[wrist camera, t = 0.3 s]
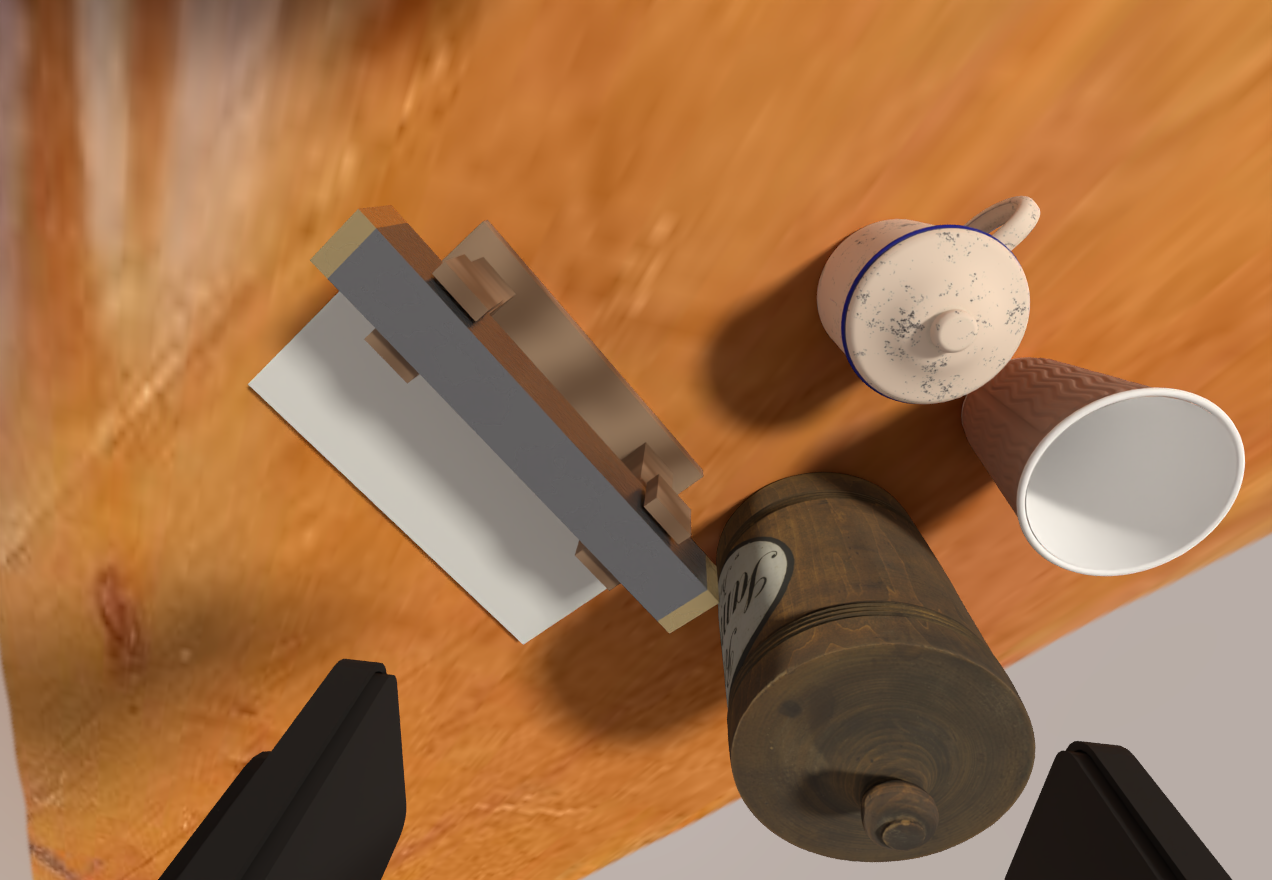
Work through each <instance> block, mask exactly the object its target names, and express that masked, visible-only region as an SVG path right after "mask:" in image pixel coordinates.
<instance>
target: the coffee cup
mask: <svg viewBox="0 0 1272 880" xmlns="http://www.w3.org/2000/svg"><path fill="white" fill-rule="evenodd" d="M1192 403H1194V404H1192ZM1195 404H1196V405H1195ZM1197 405H1198V406H1197ZM1203 408H1204V409H1203ZM1206 410H1207V411H1206ZM1209 412H1210V413H1211V414H1210V413H1209ZM961 416H962V425H963V428H964V431H965V434H966V436H967V437H966V438H967V440H968V441H969V444H970V446H971V447H972V449H973V450H974V452H975V453H976V455H977V456H978V458H979V459H980V460H981V462H982V464H983V465H984V467H985V468H986V470H987V471H988V473H989V474H990V476H991V477H992V479H993V480H994V482H995V483H996V485H997V486H998V488H999V489H1000V491H1001V492H1002V494H1003V495H1004V497H1005V498H1006V500H1007V501H1008V503H1009V504H1010V506H1011V507H1012V509H1013V510H1014V512H1015V514H1016V515H1017V517H1018V520H1019V524H1020V527H1021V529H1022V532H1023V534H1024V536H1025V537H1026V539H1027V541H1028V542H1029V543H1030V545H1031V546H1032V547H1033V548H1034V549H1035V550H1036V551H1037V552H1038V553H1039V554H1040V555H1041V556H1042V557H1044V558H1045V559H1046V560H1048V561H1050V562H1051V563H1053V564H1055V565H1057V566H1059V567H1061V568H1064V569H1067V570H1069V571H1073V572H1076V573H1081V574H1086V575H1093V576H1117V575H1126V574H1132V573H1136V572H1141V571H1144V570H1148V569H1151V568H1154V567H1156V566H1159V565H1162V564H1164V563H1166V562H1168V561H1171V560H1173V559H1175V558H1176V557H1178V556H1180V555H1182V554H1183V553H1185V552H1187V551H1188V550H1190V549H1191V548H1193V547H1194V546H1195V545H1197V544H1198V543H1199V542H1201V541H1202V540H1203V539H1204V538H1205V537H1206V536H1208V535H1209V534H1210V533H1211V532H1212V531H1213V530H1214V529H1215V528H1216V526H1217V525H1218V524H1219V523H1220V522H1221V521H1222V519H1223V518H1224V517H1225V515H1226V514H1227V513H1228V511H1229V510H1230V508H1231V506H1232V505H1233V503H1234V501H1235V499H1236V497H1237V494H1238V492H1239V489H1240V487H1241V483H1242V480H1243V475H1244V467H1245V455H1244V448H1243V444H1242V440H1241V437H1240V435H1239V433H1238V431H1237V429H1236V427H1235V425H1234V424H1233V422H1232V421H1231V419H1230V418H1229V417H1228V416H1227V415H1226V413H1225V412H1223V411H1222V410H1221V409H1220V408H1219V407H1218V406H1216V405H1215V404H1214V403H1212V402H1210V401H1209V400H1207V399H1205V398H1203V397H1201V396H1199V395H1196V394H1193V393H1190V392H1187V391H1183V390H1178V389H1170V388H1152V387H1149V386H1145V385H1142V384H1138V383H1134V382H1129V381H1126V380H1123V379H1120V378H1116V377H1113V376H1109V375H1105V374H1102V373H1098V372H1094V371H1090V370H1087V369H1084V368H1080V367H1077V366H1073V365H1069V364H1066V363H1061V362H1058V361H1055V360H1051V359H1044V358H1031V357H1028V358H1016V359H1011V360H1009V362H1008V363H1007V364H1006V365H1005V366H1004V368H1003V369H1002V370H1001V371H1000V372H999V373H998V374H997V375H995V376H994V377H993V378H992V379H991V380H990V381H988V382H987V383H986V384H984V385H983V386H981V387H979V388H978V389H976V390H974V391H973V392H971V393H969V394H967V395H966V397H965V400H964V402H963V406H962V413H961ZM1041 544H1042V545H1043V546H1044V547H1045V548H1046V549H1047V550H1048V551H1047V550H1046V549H1045V548H1044V547H1043V546H1042V545H1041ZM1054 555H1055V556H1054ZM1059 558H1060V559H1059Z"/></svg>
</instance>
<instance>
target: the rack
mask: <svg viewBox="0 0 1272 880" xmlns="http://www.w3.org/2000/svg"><path fill="white" fill-rule="evenodd" d="M442 262H443V263H442V264H441V265H440V266H439V267H438V268H437V269H436V270H435V271H434V272H433V273H432V274H433V275H434V276H435V277H436V279H437V280H438V281H439V282H440V283H441V284H442V285H443V286H444V287H445V288H446V290H447V291H448V292H449V293H450V294H451V295H452V296H453V297H454V298H455V299H456V301H457V302H458V303H459V304H460V305H461V306H462V307H463V308H464V309H465V310H466V312H467V313H468V314H469V315H470V316H471V317H472V318H473V319H474V320H475V321H478V320H479V319H480V318H482V317H483V316H485V315H486V314H487V313H489V314H490V315H491V317H492V318H493V319H494V320H495V321H496V322H497V323H498V324H499V325H500V327H501V328H502V329H503V330H504V331H505V332H506V333H507V334H508V335H509V337H510V338H511V339H512V340H513V341H514V342H515V343H516V344H517V345H518V347H519V348H520V349H521V350H522V351H523V352H524V353H525V354H526V355H527V357H528V358H529V359H530V360H531V361H532V362H533V363H534V364H535V365H536V367H537V368H538V369H539V370H540V371H541V372H542V373H543V374H544V375H545V377H546V378H547V379H548V380H549V381H550V382H551V383H552V384H553V385H554V387H555V388H556V389H557V390H558V391H559V392H560V393H561V394H562V395H563V397H564V398H565V399H566V400H567V401H568V402H569V403H570V404H571V405H572V407H573V408H574V409H575V410H576V411H577V412H578V413H579V414H580V416H581V417H582V418H583V419H584V420H585V421H586V422H587V423H588V424H589V426H590V427H591V428H592V429H593V430H594V431H595V432H596V433H597V434H598V436H599V437H600V438H601V439H602V440H603V441H604V442H605V443H606V444H607V446H608V447H609V448H610V449H611V450H612V451H613V452H614V453H615V454H616V456H617V457H618V458H619V459H620V460H621V461H622V462H623V463H624V464H625V466H626V467H627V468H628V469H629V470H630V471H631V472H632V473H633V474H634V476H635V477H636V478H637V479H638V480H639V481H640V482H641V483H642V484H643V486H644V487H645V488H646V494H645V502H644V507H645V508H646V509H647V511H648V512H649V513H650V514H651V515H652V516H653V517H654V518H655V519H656V520H657V522H658V523H659V524H660V525H661V526H662V527H663V528H664V529H665V530H666V531H667V533H668V534H669V535H670V536H671V537H672V538H673V539H674V540H675V541H676V542H677V544H680V543H681V542H683V541H684V540H686V539H687V538H689V537H690V536H691V509H690V508H689V507H688V506H687V505H686V504H685V503H684V502H683V500H682V499H681V498H680V497H679V496H678V494H679V493H680V492H682V491H683V490H685V489H686V488H688V487H689V486H690V485H692V484H693V483H695V482H696V481H698V480H699V479H701V478H702V477H703V470H702V469H701V468H700V466H699V465H698V464H697V463H696V462H695V461H694V459H693V458H692V457H691V456H690V455H689V454H688V452H687V451H686V450H685V449H684V448H683V447H682V446H681V444H680V443H679V442H678V441H677V440H676V439H675V437H674V436H673V435H672V434H671V433H670V432H669V430H668V429H667V428H666V427H665V426H664V425H663V423H662V422H661V421H660V420H659V419H658V418H657V416H656V415H655V414H654V413H653V412H652V411H651V409H650V408H649V407H648V406H647V405H646V404H645V402H644V401H643V400H642V399H641V398H640V397H639V395H638V394H637V393H636V392H635V391H634V390H633V388H632V387H631V386H630V385H629V384H628V383H627V382H626V380H625V379H624V378H623V377H622V376H621V375H620V373H619V372H618V371H617V370H616V369H615V368H614V366H613V365H612V364H611V363H610V362H609V361H608V359H607V358H606V357H605V356H604V355H603V354H602V352H601V351H600V350H599V349H598V348H597V347H596V345H595V344H594V343H593V342H592V341H591V340H590V338H589V337H588V336H587V335H586V334H585V333H584V331H583V330H582V329H581V328H580V327H579V326H578V324H577V323H576V322H575V321H574V320H573V319H572V317H571V316H570V315H569V314H568V313H567V312H566V311H565V309H564V308H563V307H562V306H561V305H560V304H559V302H558V301H557V300H556V299H555V298H554V297H553V295H552V294H551V293H550V292H549V291H548V290H547V288H546V287H545V286H544V285H543V284H542V283H541V281H540V280H539V279H538V278H537V277H536V276H535V274H534V273H533V272H532V271H531V270H530V269H529V267H528V266H527V265H526V264H525V263H524V262H523V260H522V259H521V258H520V257H519V256H518V255H517V253H516V252H515V251H514V250H513V249H512V248H511V246H510V245H509V244H508V243H507V242H506V241H505V240H504V238H503V237H502V236H501V235H500V234H499V233H498V231H497V230H496V229H495V228H494V227H493V226H492V224H491V223H490V222H489V221H488V220H486V221H483V222H482V223H481V224H480V225H479V226H478V227H477V228H476V229H475V230H474V231H472V232H471V233H470V234H469V235H468V236H467V237H466V238H465V239H464V240H463V241H462V242H461V243H460V244H459V245H458V246H457V247H456V248H455V249H454V250H453V251H452V252H451V253H450V254H449V255H448V256H447V257H446V258H445V259H444V260H442ZM364 340H365V341H366V342H367V343H368V344H369V345H370V346H371V347H372V348H373V349H374V350H375V351H376V352H377V353H378V354H379V355H380V356H381V357H382V358H383V359H384V360H385V361H386V362H387V363H388V364H389V365H390V366H391V367H392V368H393V369H394V370H395V371H396V373H397V374H398V375H399V376H400V377H401V378H402V379H403V380H404V381H405V382H406V383H407V384H408V383H409V382H410V381H411V380H413V379H414V378H415V377H417V376H418V375H419V373H418V372H417V371H416V370H415V369H414V368H413V367H412V366H411V365H410V364H409V363H408V362H407V361H406V360H405V359H404V357H403V356H402V355H401V354H400V353H399V352H398V351H397V350H396V349H395V348H394V347H393V346H392V345H391V344H390V343H389V342H388V341H387V340H386V339H385V338H384V337H383V336H382V335H381V334H380V333H379V332H378V330H377V329H376V328H375V329H374V330H373V331H372V332H371V333H370V334H369V335H368V336H367V337H366V338H365V339H364ZM575 556H576V557H577V558H578V559H579V560H580V561H581V562H582V563H583V564H584V565H585V567H586V568H587V569H588V570H589V571H590V572H591V573H592V574H593V575H594V576H595V577H596V578H597V579H598V580H599V581H600V582H601V583H602V584H603V585H604V586H605V587H606V588H607V589H608V590H609V591H610V590H611V589H613V588H614V587H615V586H617V585H618V584H620V582H619V581H618V580H617V579H616V578H615V577H614V576H613V574H612V573H611V572H610V571H609V570H608V569H607V568H606V567H605V566H604V565H603V564H602V563H601V562H600V561H599V560H598V559H597V558H596V557H595V556H594V555H593V554H592V553H591V552H590V551H589V550H588V549H587V547H586V546H585V545H584V544H583V543H582V542H581V541H580V540H579V542H578V546H577V549H576V553H575Z"/></svg>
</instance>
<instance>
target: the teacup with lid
mask: <svg viewBox="0 0 1272 880" xmlns="http://www.w3.org/2000/svg"><path fill="white" fill-rule="evenodd" d="M1039 217H1040V209H1039V207H1038V206H1037V204H1036V203H1035V202H1034V201H1033V200H1032V199H1031V198H1029V197H1026V196H1017V197H1012V198H1008V199H1006V200H1003V201H1001V202H998V203H996V204H994V205H992V206H990V207H989V208H987V209H985V210H984V211H982V212H980V213H979V214H978V215H976V216H975V217H973V218H972V219H971V220H970V221H968V222H967V223H966V224H965V225H964V226H961V225H931V224H927V223H922V222H917V221H912V220H906V219H891V220H884V221H880V222H876V223H873V224H870V225H868V226H865V227H863V228H861V229H859V230H858V231H856V232H855V233H853V234H852V235H850V236H849V237H848V238H846V239H845V240H844V241H843V242H842V243H841V244H840V245H839V246H838V247H837V248H836V249H835V251H834V252H833V253H832V255H831V256H830V258H829V259H828V261H827V263H826V265H825V266H824V269H823V271H822V273H821V277H820V280H819V284H818V290H817V307H818V312H819V316H820V320H821V322H822V325H823V327H824V329H825V330H826V332H827V334H828V335H829V336H830V338H831V339H832V340H833V341H834V342H835V343H836V344H837V346H838V347H839V348H840V349H841V350H842V351H843V352H844V354H845V355H846V357H847V359H848V362H849V363H850V365H851V367H852V369H853V370H854V372H855V373H856V374H857V376H858V377H859V378H860V379H861V380H862V381H863V382H864V383H865V384H866V385H867V386H868V387H870V388H871V389H873V390H874V391H875V392H877V393H879V394H881V395H883V396H885V397H887V398H889V399H892V400H895V401H899V402H904V403H911V404H935V403H941V402H946V401H950V400H953V399H956V398H960V397H962V396H964V395H967V394H969V393H971V392H973V391H974V390H976V389H978V388H979V387H981V386H983V385H984V384H986V383H987V382H988V381H990V380H991V379H992V378H993V377H994V376H995V375H997V374H998V373H999V372H1000V371H1001V370H1002V369H1003V368H1004V366H1005V365H1006V364H1007V363H1008V362H1009V360H1010V359H1011V358H1012V356H1013V355H1014V353H1015V352H1016V350H1017V348H1018V346H1019V344H1020V342H1021V340H1022V338H1023V336H1024V333H1025V330H1026V327H1027V323H1028V318H1029V311H1030V295H1029V288H1028V283H1027V280H1026V277H1025V274H1024V272H1023V270H1022V267H1021V265H1020V263H1019V262H1018V260H1017V258H1016V257H1015V256H1014V254H1013V253H1012V252H1011V250H1013V249H1014V248H1015V247H1016V246H1017V245H1018V244H1019V243H1020V242H1021V241H1023V240H1024V239H1025V238H1026V236H1027V235H1028V234H1029V233H1030V232H1031V231H1032V230H1033V228H1034V227H1035V225H1036V223H1037V222H1038V219H1039ZM1002 225H1003V226H1002ZM1000 226H1002V227H1001V228H1000V229H998V230H997V231H996V232H995V233H994V234H993V235H990V234H989V233H990V232H991V231H993V230H995V229H996V228H998V227H1000Z"/></svg>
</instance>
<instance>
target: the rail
mask: <svg viewBox="0 0 1272 880" xmlns="http://www.w3.org/2000/svg"><path fill="white" fill-rule="evenodd" d="M310 261H311V262H312V263H313V264H314V265H315V266H316V267H317V268H318V269H319V270H320V271H321V272H322V273H323V274H324V275H325V276H326V278H327V279H328V280H329V281H330V282H331V283H332V284H333V285H334V286H335V287H336V288H337V289H338V290H339V291H340V292H341V293H342V294H343V295H344V296H345V297H346V298H347V299H348V300H349V301H350V302H351V303H352V305H353V306H354V307H355V308H356V309H357V310H358V311H359V312H360V313H361V314H362V315H363V316H364V317H365V318H366V319H367V320H368V321H369V322H370V323H371V324H372V325H373V326H374V327H375V328H376V329H377V330H378V332H379V333H380V334H381V335H382V336H383V337H384V338H385V339H386V340H387V341H388V342H389V343H390V344H391V345H392V346H393V347H394V348H395V349H396V350H397V351H398V352H399V353H400V354H401V355H402V356H403V357H404V359H405V360H406V361H407V362H408V363H409V364H410V365H411V366H412V367H413V368H414V369H415V370H416V371H417V372H418V373H419V374H420V375H421V376H422V377H423V378H424V379H425V380H426V381H427V382H428V383H429V384H430V386H431V387H432V388H433V389H434V390H435V391H436V392H437V393H438V394H439V395H440V396H441V397H442V398H443V399H444V400H445V401H446V402H447V403H448V404H449V405H450V406H451V407H452V408H453V409H454V410H455V411H456V413H457V414H458V415H459V416H460V417H461V418H462V419H463V420H464V421H465V422H466V423H467V424H468V425H469V426H470V427H471V428H472V429H473V430H474V431H475V432H476V433H477V434H478V435H479V436H480V437H481V438H482V440H483V441H484V442H485V443H486V444H487V445H488V446H489V447H490V448H491V449H492V450H493V451H494V452H495V453H496V454H497V455H498V456H499V457H500V458H501V459H502V460H503V461H504V462H505V463H506V464H507V465H508V466H509V468H510V469H511V470H512V471H513V472H514V473H515V474H516V475H517V476H518V477H519V478H520V479H521V480H522V481H523V482H524V483H525V484H526V485H527V486H528V487H529V488H530V489H531V490H532V491H533V492H534V493H535V495H536V496H537V497H538V498H539V499H540V500H541V501H542V502H543V503H544V504H545V505H546V506H547V507H548V508H549V509H550V510H551V511H552V512H553V513H554V514H555V515H556V516H557V517H558V518H559V519H560V520H561V522H562V523H563V524H564V525H565V526H566V527H567V528H568V529H569V530H570V531H571V532H572V533H573V534H574V535H575V536H576V537H577V538H578V539H579V540H580V541H581V542H582V543H583V544H584V545H585V546H586V547H587V549H588V550H589V551H590V552H591V553H592V554H593V555H594V556H595V557H596V558H597V559H598V560H599V561H600V562H601V563H602V564H603V565H604V566H605V567H606V568H607V569H608V570H609V571H610V572H611V573H612V574H613V576H614V577H615V578H616V579H617V580H618V581H619V582H620V583H621V584H622V585H623V586H624V587H625V588H626V589H627V590H628V591H629V592H630V593H631V594H632V595H633V596H634V597H635V598H636V599H637V600H638V601H639V603H640V604H641V605H642V606H643V607H644V608H645V609H646V610H647V611H648V612H649V613H650V614H651V615H652V616H653V617H654V618H655V619H656V620H657V621H658V622H659V623H660V624H661V625H662V626H663V627H664V628H665V630H666V631H667V632H668V633H669V634H670V633H672V632H673V631H675V630H676V629H678V628H680V627H681V626H683V625H684V624H686V623H688V622H689V621H691V620H693V619H694V618H696V617H697V616H699V615H701V614H702V613H704V612H705V611H707V610H709V609H710V608H712V607H714V606H715V605H717V604H718V603H719V591H718V578H717V567H716V566H715V565H714V563H713V562H712V561H711V560H710V559H709V558H708V557H707V556H706V555H705V553H704V552H703V551H702V550H701V549H700V548H699V547H698V546H697V545H696V543H695V542H694V541H693V540H692V539H691V538H690V537H689V538H687V539H686V540H684V541H683V542H681V543H680V544H677V542H676V541H675V540H674V539H673V538H672V537H671V536H670V535H669V534H668V533H667V531H666V530H665V529H664V528H663V527H662V526H661V525H660V524H659V523H658V522H657V520H656V519H655V518H654V517H653V516H652V515H651V514H650V513H649V512H648V511H647V509H646V508H645V507H644V502H645V494H646V488H645V487H644V486H643V484H642V483H641V482H640V481H639V480H638V479H637V478H636V477H635V476H634V474H633V473H632V472H631V471H630V470H629V469H628V468H627V467H626V466H625V464H624V463H623V462H622V461H621V460H620V459H619V458H618V457H617V456H616V454H615V453H614V452H613V451H612V450H611V449H610V448H609V447H608V446H607V444H606V443H605V442H604V441H603V440H602V439H601V438H600V437H599V436H598V434H597V433H596V432H595V431H594V430H593V429H592V428H591V427H590V426H589V424H588V423H587V422H586V421H585V420H584V419H583V418H582V417H581V416H580V414H579V413H578V412H577V411H576V410H575V409H574V408H573V407H572V405H571V404H570V403H569V402H568V401H567V400H566V399H565V398H564V397H563V395H562V394H561V393H560V392H559V391H558V390H557V389H556V388H555V387H554V385H553V384H552V383H551V382H550V381H549V380H548V379H547V378H546V377H545V375H544V374H543V373H542V372H541V371H540V370H539V369H538V368H537V367H536V365H535V364H534V363H533V362H532V361H531V360H530V359H529V358H528V357H527V355H526V354H525V353H524V352H523V351H522V350H521V349H520V348H519V347H518V345H517V344H516V343H515V342H514V341H513V340H512V339H511V338H510V337H509V335H508V334H507V333H506V332H505V331H504V330H503V329H502V328H501V327H500V325H499V324H498V323H497V322H496V321H495V320H494V319H493V318H492V317H491V315H490V314H489V313H487V314H486V315H485V316H483V317H482V318H480V319H479V320H478V321H475V320H474V319H473V318H472V317H471V316H470V315H469V314H468V313H467V312H466V310H465V309H464V308H463V307H462V306H461V305H460V304H459V303H458V302H457V301H456V299H455V298H454V297H453V296H452V295H451V294H450V293H449V292H448V291H447V290H446V288H445V287H444V286H443V285H442V284H441V283H440V282H439V281H438V280H437V279H436V277H435V276H434V275H433V274H432V273H433V272H434V271H435V270H436V269H437V268H438V267H439V266H440V265H441V264H442V263H443V262H442V261H441V260H440V259H439V258H438V256H437V255H436V254H435V253H434V252H433V251H432V250H431V249H430V248H429V246H428V245H427V244H426V243H425V242H424V241H423V240H422V239H421V238H420V236H419V235H418V234H417V233H416V232H415V231H414V230H413V229H412V228H411V226H410V225H409V224H408V223H407V222H406V221H405V220H404V219H403V218H402V216H401V215H400V214H399V213H398V212H397V211H396V210H395V209H394V207H393V206H392V205H388V206H379V207H370V208H361V209H358V210H357V211H356V212H355V213H354V214H353V215H352V216H351V217H350V218H349V219H348V220H347V221H346V222H345V224H344V225H343V226H342V227H341V228H340V229H339V230H338V231H337V232H336V233H335V234H334V235H333V236H332V237H331V238H330V239H329V240H328V242H327V243H326V244H325V245H324V246H323V247H322V248H321V249H320V250H319V251H318V252H317V253H316V254H315V255H314V256H313V257H312V259H311V260H310Z"/></svg>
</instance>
